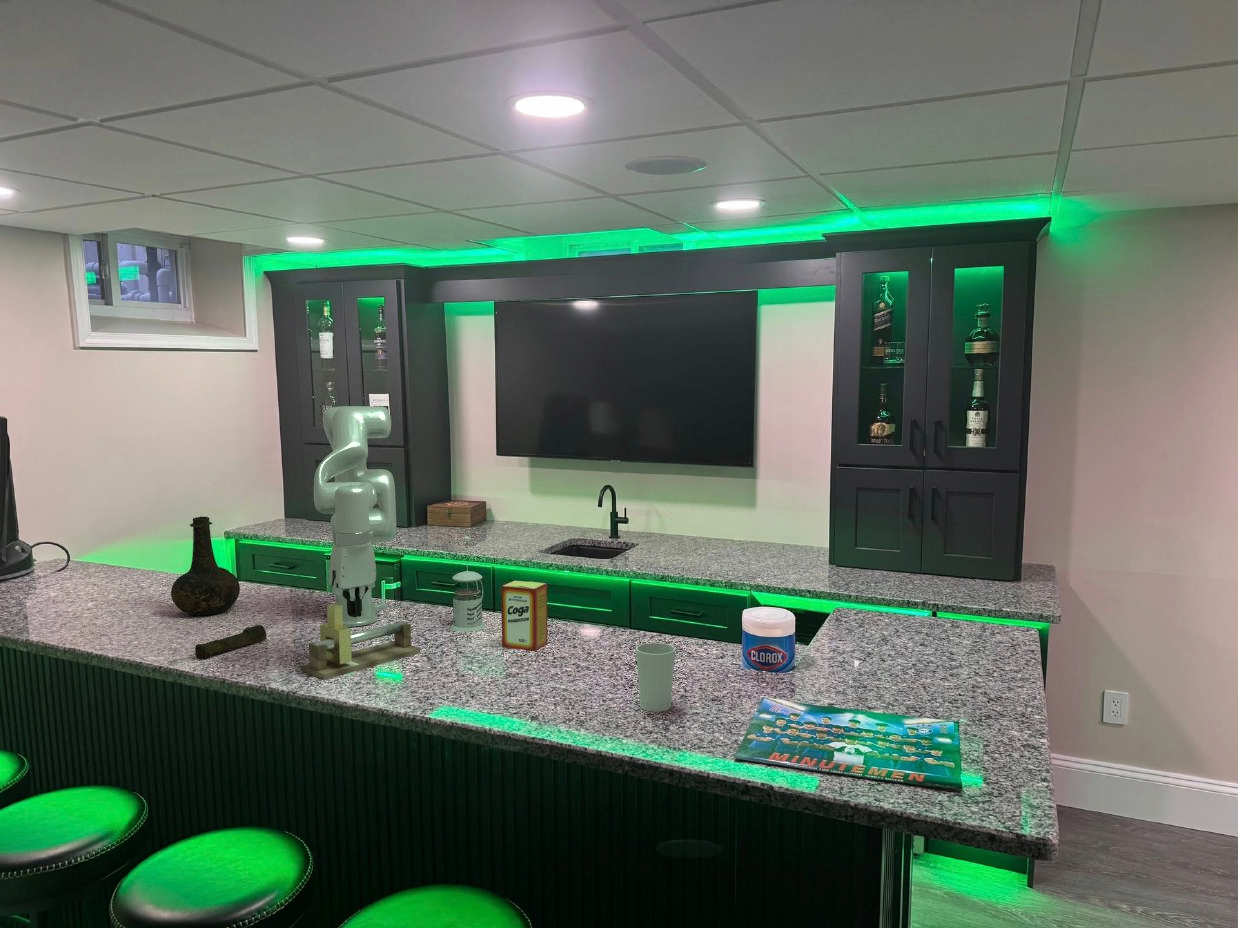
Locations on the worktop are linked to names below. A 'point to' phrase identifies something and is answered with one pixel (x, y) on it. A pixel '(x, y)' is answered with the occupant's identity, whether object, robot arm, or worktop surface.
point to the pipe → (367, 635)
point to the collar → (336, 635)
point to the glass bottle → (204, 578)
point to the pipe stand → (360, 656)
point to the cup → (655, 675)
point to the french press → (467, 602)
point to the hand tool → (231, 642)
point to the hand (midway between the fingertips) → (354, 615)
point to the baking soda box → (524, 615)
